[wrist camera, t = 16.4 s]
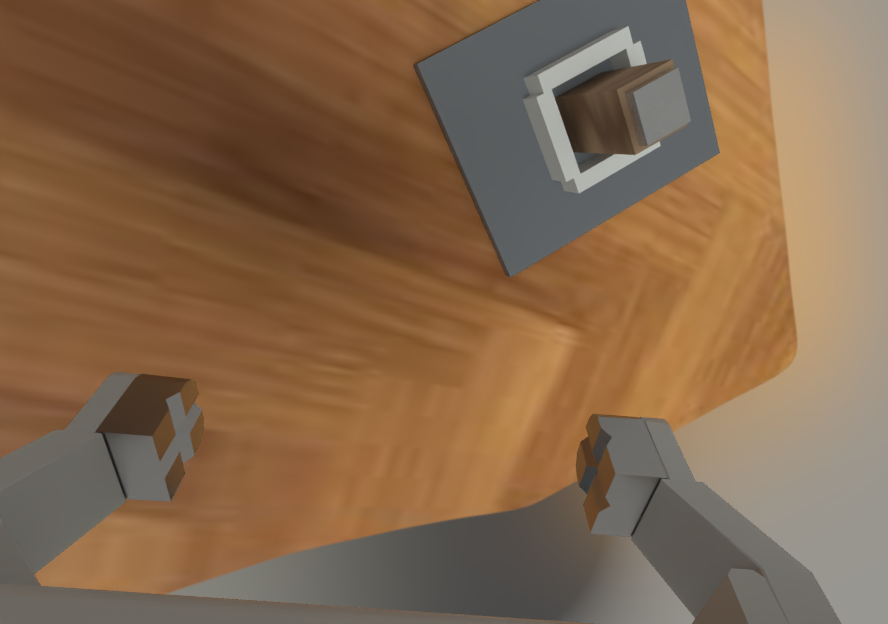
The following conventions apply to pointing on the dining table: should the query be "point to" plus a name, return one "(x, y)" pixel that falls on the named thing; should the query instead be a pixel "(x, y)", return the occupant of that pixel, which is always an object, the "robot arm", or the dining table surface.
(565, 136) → the end holder
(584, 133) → the plug
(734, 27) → the dining table surface
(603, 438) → the robot arm
